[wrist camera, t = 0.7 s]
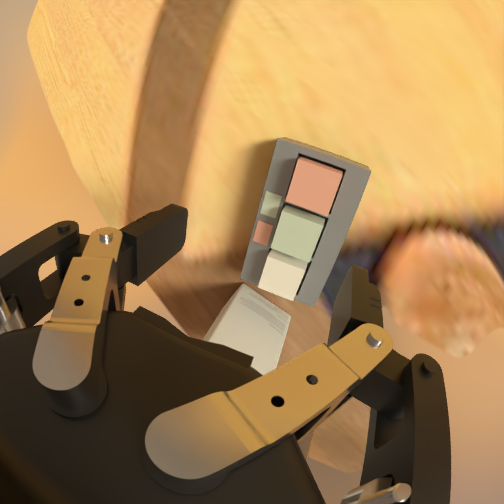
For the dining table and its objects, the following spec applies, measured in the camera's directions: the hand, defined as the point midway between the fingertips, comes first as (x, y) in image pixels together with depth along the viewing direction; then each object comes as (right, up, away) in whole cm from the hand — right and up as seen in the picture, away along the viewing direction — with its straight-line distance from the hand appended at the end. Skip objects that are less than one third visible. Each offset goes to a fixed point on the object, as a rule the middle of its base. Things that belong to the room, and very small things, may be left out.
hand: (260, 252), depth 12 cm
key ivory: (+3, -2, +18) cm, 18 cm away
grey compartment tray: (+5, +4, +18) cm, 19 cm away
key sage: (+4, +2, +15) cm, 16 cm away
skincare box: (0, -8, +26) cm, 27 cm away
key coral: (+6, +6, +13) cm, 15 cm away
